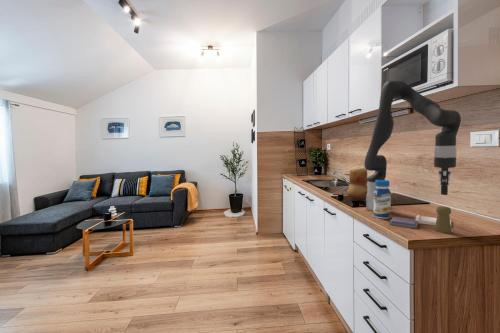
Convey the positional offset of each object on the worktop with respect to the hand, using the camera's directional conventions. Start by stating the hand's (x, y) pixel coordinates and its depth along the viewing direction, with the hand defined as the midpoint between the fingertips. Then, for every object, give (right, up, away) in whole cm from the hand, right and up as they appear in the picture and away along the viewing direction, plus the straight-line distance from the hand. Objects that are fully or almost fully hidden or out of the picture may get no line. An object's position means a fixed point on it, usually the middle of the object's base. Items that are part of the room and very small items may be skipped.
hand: (444, 193), depth 106 cm
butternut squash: (-9, -13, +65) cm, 67 cm away
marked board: (+6, -16, +14) cm, 22 cm away
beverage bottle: (-14, -16, +25) cm, 33 cm away
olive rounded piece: (0, -17, +1) cm, 17 cm away
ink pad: (-10, -17, +12) cm, 23 cm away
